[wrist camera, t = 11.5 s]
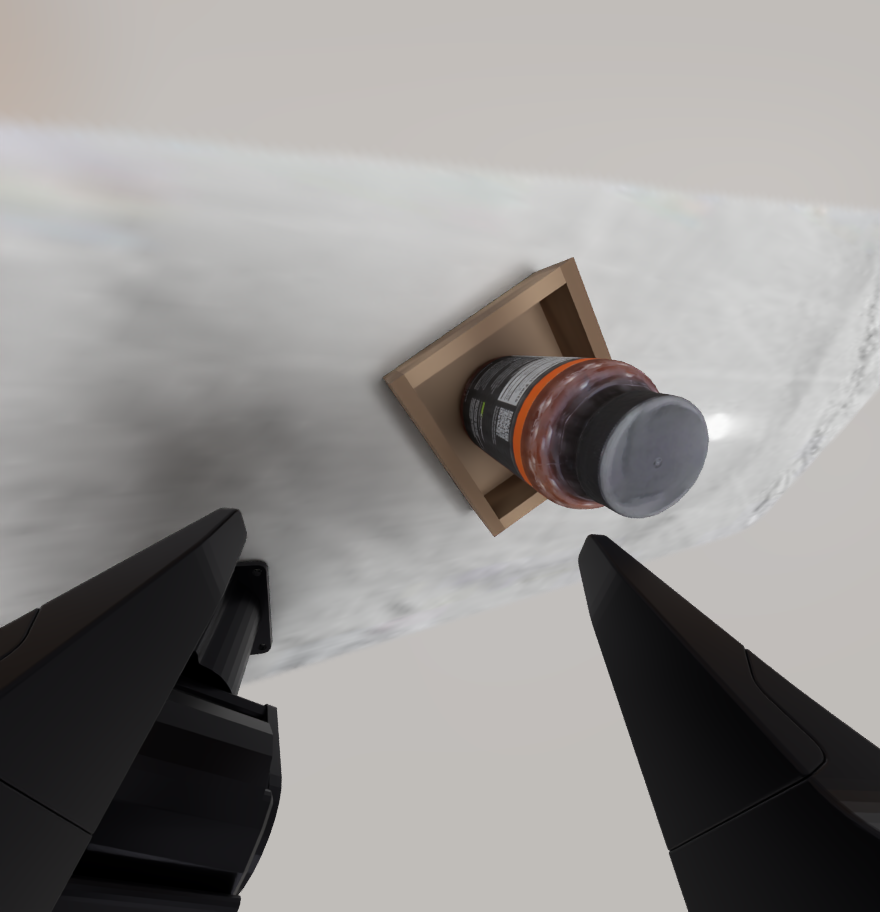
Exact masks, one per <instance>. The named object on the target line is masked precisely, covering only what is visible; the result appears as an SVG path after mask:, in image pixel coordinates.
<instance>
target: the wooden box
mask: <svg viewBox="0 0 880 912" xmlns="http://www.w3.org/2000/svg"><path fill="white" fill-rule="evenodd" d="M517 355H518V356H547V357H578V358H599V359H610V360H612V359H611V357H610V354H609V351H608V349H607V346H606V343H605V341H604V338H603V335H602V332H601V330H600V327H599V324H598V322H597V319H596V316H595V314H594V311H593V308H592V306H591V303H590V300H589V298H588V295H587V292H586V290H585V287H584V284H583V281H582V279H581V276H580V273H579V271H578V268H577V265H576V263H575V260H574V257H573V258H570V259H567V260H565V261H562V262H560V263H557V264H555V265H552V266H549V267H547V268H544V269H542V270H539V271H537V272H535V273H533V274H532V275H530V276H529V277H528V278H526V279H525V280H523V281H522V282H520V283H519V284H517V285H516V286H515V287H513V288H512V289H510V290H509V291H507V292H506V293H504V294H503V295H501V296H500V297H499V298H497V299H496V300H494V301H493V302H491V303H490V304H488V305H487V306H486V307H484V308H483V309H481V310H480V311H478V312H477V313H475V314H474V315H472V316H471V317H470V318H468V319H467V320H465V321H464V322H462V323H461V324H459V325H458V326H457V327H455V328H454V329H452V330H451V331H449V332H448V333H446V334H445V335H443V336H442V337H441V338H439V339H438V340H436V341H435V342H433V343H432V344H430V345H429V346H428V347H426V348H425V349H423V350H422V351H420V352H419V353H417V354H416V355H414V356H413V357H412V358H410V359H409V360H407V361H406V362H404V363H403V364H401V365H400V366H399V367H397V368H396V369H394V370H393V371H391V372H390V373H388V374H387V375H385V376H384V377H383V379H384V380H385V382H386V383H387V385H388V386H389V388H390V389H391V391H392V392H393V394H394V395H395V396H396V398H397V399H398V401H399V402H400V404H401V405H402V407H403V408H404V409H405V411H406V412H407V414H408V415H409V417H410V418H411V420H412V421H413V423H414V424H415V425H416V427H417V428H418V430H419V431H420V433H421V434H422V436H423V437H424V439H425V440H426V441H427V443H428V444H429V446H430V447H431V449H432V450H433V452H434V453H435V455H436V456H437V457H438V459H439V460H440V462H441V463H442V465H443V466H444V468H445V469H446V471H447V472H448V473H449V475H450V476H451V478H452V479H453V481H454V482H455V484H456V485H457V487H458V488H459V489H460V491H461V492H462V494H463V495H464V497H465V498H466V500H467V501H468V503H469V504H470V505H471V507H472V508H473V510H474V511H475V512H476V514H477V515H478V516H479V518H480V519H481V520H482V522H483V523H484V524H485V526H486V527H487V528H488V529H489V531H490V532H491V533H492V535H493V536H494V537H495V536H497V535H498V534H499V533H501V532H502V531H504V530H505V529H506V528H508V527H509V526H510V525H512V524H513V523H515V522H516V521H517V520H519V519H520V518H522V517H523V516H524V515H526V514H527V513H529V512H530V511H531V510H533V509H534V508H535V507H537V506H538V505H540V504H541V503H542V502H544V501H545V500H547V498H546V497H544V496H543V495H541V494H540V493H539V492H537V491H536V490H535V489H533V488H532V487H531V486H530V485H528V484H527V483H525V482H524V481H523V480H521V479H520V478H519V477H517V476H516V475H515V474H513V473H512V472H511V471H510V470H508V469H507V468H505V467H504V466H503V465H501V464H500V463H499V462H497V461H496V460H495V459H493V458H492V457H491V456H489V455H488V454H487V453H485V452H484V451H483V450H482V449H481V448H479V447H478V446H477V445H475V444H474V443H473V442H472V441H471V440H470V438H469V437H468V435H467V434H466V432H465V430H464V428H463V425H462V421H461V416H460V403H461V398H462V394H463V391H464V388H465V385H466V384H467V382H468V380H469V379H470V377H471V376H472V375H473V374H474V373H475V372H476V370H477V369H478V368H480V367H481V366H482V365H484V364H485V363H487V362H489V361H490V360H492V359H495V358H498V357H503V356H517Z"/></svg>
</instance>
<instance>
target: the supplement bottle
mask: <svg viewBox="0 0 880 912" xmlns="http://www.w3.org/2000/svg"><path fill="white" fill-rule="evenodd" d="M460 416H461V421H462V425H463V428H464V430H465V432H466V434H467V435H468V437H469V438H470V440H471V441H472V442H473V443H474V444H475V445H477V446H478V447H479V448H481V449H482V450H483V451H484V452H485V453H487V454H488V455H489V456H491V457H492V458H493V459H495V460H496V461H497V462H499V463H500V464H501V465H503V466H504V467H505V468H507V469H508V470H510V471H511V472H512V473H513V474H515V475H516V476H517V477H519V478H520V479H521V480H523V481H524V482H525V483H527V484H528V485H530V486H531V487H532V488H533V489H535V490H536V491H537V492H539V493H540V494H541V495H543V496H544V497H546V498H547V499H549V500H550V501H552V502H554V503H556V504H558V505H561V506H564V507H567V508H573V509H594V508H599V507H603V506H606V507H608V508H609V509H611V510H613V511H614V512H616V513H618V514H620V515H622V516H625V517H629V518H645V517H650V516H654V515H657V514H659V513H660V512H663V511H665V510H666V509H668V508H669V507H671V506H673V505H674V504H675V503H677V502H678V501H679V500H680V499H681V498H682V497H683V496H684V495H685V494H686V493H687V492H688V491H689V489H690V488H691V487H692V486H693V485H694V483H695V482H696V480H697V478H698V476H699V474H700V472H701V470H702V468H703V465H704V462H705V458H706V455H707V451H708V442H709V437H708V430H707V426H706V422H705V420H704V417H703V415H702V414H701V412H700V411H699V409H698V408H697V407H696V406H695V405H693V404H692V403H691V402H690V401H688V400H686V399H684V398H682V397H678V396H674V395H669V394H662V393H659V392H658V390H657V388H656V386H655V385H654V384H653V383H652V381H651V380H650V379H649V377H647V376H646V375H645V373H643V372H642V371H641V370H639V369H637V368H635V367H633V366H632V365H630V364H627V363H625V362H622V361H616V360H610V359H599V358H578V357H547V356H518V355H517V356H503V357H498V358H495V359H492V360H490V361H489V362H487V363H485V364H484V365H482V366H481V367H480V368H478V369H477V370H476V372H475V373H474V374H473V375H472V376H471V377H470V379H469V380H468V382H467V384H466V385H465V388H464V391H463V394H462V398H461V403H460Z"/></svg>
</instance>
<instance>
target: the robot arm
mask: <svg viewBox="0 0 880 912" xmlns="http://www.w3.org/2000/svg"><path fill="white" fill-rule="evenodd" d="M246 538H247V532H246V528H245V525H244V521H243V517H242V514H241V512H240V510H238V509H234V508H220V509H218V510H216V511H214V512H212V513H210V514H209V515H207V516H205V517H203V518H201V519H199V520H198V521H196V522H194V523H192V524H190V525H188V526H187V527H185V528H183V529H181V530H179V531H177V532H176V533H174V534H172V535H170V536H168V537H166V538H165V539H163V540H161V541H159V542H157V543H155V544H154V545H152V546H150V547H148V548H146V549H145V550H143V551H141V552H139V553H137V554H135V555H134V556H132V557H130V558H128V559H126V560H124V561H123V562H121V563H119V564H117V565H115V566H113V567H112V568H110V569H108V570H106V571H104V572H102V573H101V574H99V575H97V576H95V577H93V578H91V579H90V580H88V581H86V582H84V583H82V584H80V585H79V586H77V587H75V588H73V589H71V590H69V591H68V592H66V593H64V594H62V595H60V596H58V597H57V598H55V599H53V600H51V601H49V602H47V603H46V604H44V605H42V606H41V608H37V609H34V610H33V611H31V612H29V613H27V614H25V615H23V616H22V617H20V618H18V619H16V620H14V621H12V622H11V623H9V624H7V625H5V626H3V627H1V628H0V912H237V911H238V909H239V905H240V900H241V897H240V896H239V895H238V894H239V893H240V892H241V890H242V889H243V888H244V886H245V885H246V883H247V881H248V880H249V878H250V877H251V875H252V873H253V872H254V870H255V868H256V865H257V863H258V862H259V860H260V857H261V855H262V853H263V850H264V848H265V846H266V843H267V841H268V838H269V836H270V833H271V830H272V827H273V823H274V821H275V817H276V813H277V809H278V805H279V800H280V794H281V781H282V780H281V779H282V776H281V761H280V747H279V733H278V718H277V708H276V707H273V706H271V705H268V704H266V705H264V706H263V705H261V704H258V703H255V702H253V701H250V700H247V699H245V698H242V697H239V696H237V694H238V691H239V688H240V684H241V681H242V678H243V675H244V672H245V669H246V665H247V662H248V659H249V656H250V655H254V654H262V653H266V652H268V651H269V650H270V648H271V644H272V628H271V611H270V593H269V576H268V566H267V564H266V563H264V562H262V561H253V562H237V561H238V559H239V556H240V554H241V552H242V549H243V547H244V544H245V542H246ZM578 564H579V569H580V573H581V578H582V582H583V587H584V591H585V596H586V600H587V605H588V609H589V613H590V617H591V621H592V624H593V627H594V631H595V634H596V637H597V639H598V643H599V645H600V648H601V651H602V655H603V657H604V660H605V664H606V667H607V669H608V672H609V675H610V678H611V681H612V684H613V687H614V690H615V693H616V696H617V699H618V702H619V705H620V708H621V711H622V714H623V717H624V720H625V723H626V726H627V729H628V732H629V735H630V738H631V741H632V744H633V747H634V750H635V753H636V756H637V759H638V762H639V765H640V768H641V771H642V774H643V777H644V780H645V783H646V786H647V788H648V792H649V795H650V797H651V801H652V804H653V806H654V810H655V812H656V816H657V819H658V822H659V824H660V828H661V830H662V833H663V837H664V840H665V843H666V845H667V848H668V850H669V851H670V852H669V855H670V858H671V861H672V864H673V867H674V870H675V873H676V876H677V879H678V882H679V885H680V888H681V891H682V894H683V897H684V900H685V903H686V906H687V909H688V912H880V748H878V747H877V746H875V745H874V744H873V743H871V742H870V741H869V740H867V739H866V738H864V737H863V736H862V735H860V734H859V733H858V732H856V731H855V730H853V729H852V728H851V727H849V726H848V725H847V724H845V723H844V722H842V721H841V720H840V719H838V718H837V717H836V716H834V715H833V714H831V713H830V712H829V711H827V710H826V709H825V708H823V707H822V706H821V705H819V704H818V703H817V702H815V701H814V700H812V699H811V698H810V697H808V696H807V695H806V694H804V693H803V692H802V691H800V690H799V689H798V688H796V687H795V686H794V685H793V684H791V683H790V682H789V681H787V680H786V679H785V678H784V677H782V676H781V675H780V674H778V673H777V672H776V671H775V670H773V669H772V668H771V667H770V666H768V665H767V664H766V663H764V662H763V661H762V660H761V659H759V658H758V657H757V656H756V655H754V654H753V653H752V652H751V651H750V650H748V649H745V648H744V646H743V645H742V644H741V643H739V642H738V641H737V640H736V639H734V638H733V637H732V636H731V635H729V634H728V633H727V632H726V631H724V630H723V629H722V628H721V627H719V626H718V625H717V624H715V623H714V622H713V621H712V620H711V619H709V618H708V617H707V616H706V615H704V614H703V613H702V612H700V611H699V610H698V609H697V608H696V607H694V606H693V605H692V604H691V603H689V602H688V601H687V600H686V599H684V598H683V597H682V596H681V595H679V594H678V593H677V592H676V591H674V590H673V589H672V588H671V587H669V586H668V585H667V584H666V583H664V582H663V581H662V580H661V579H659V578H658V577H657V576H656V575H654V574H653V573H652V572H651V571H649V570H648V569H647V568H646V567H644V566H643V565H642V564H641V563H639V562H638V561H637V560H636V559H634V558H633V557H632V556H631V555H629V554H628V553H627V552H626V551H624V550H623V549H622V548H621V547H619V546H618V545H617V544H616V543H614V542H613V541H612V540H611V539H609V538H608V537H607V536H605V535H596V534H591V535H589V536H588V537H587V538H586V540H585V543H584V545H583V547H582V549H581V552H580V554H579V558H578ZM254 569H260V570H261V572H256V571H255V570H254ZM261 644H265V645H261Z"/></svg>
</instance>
